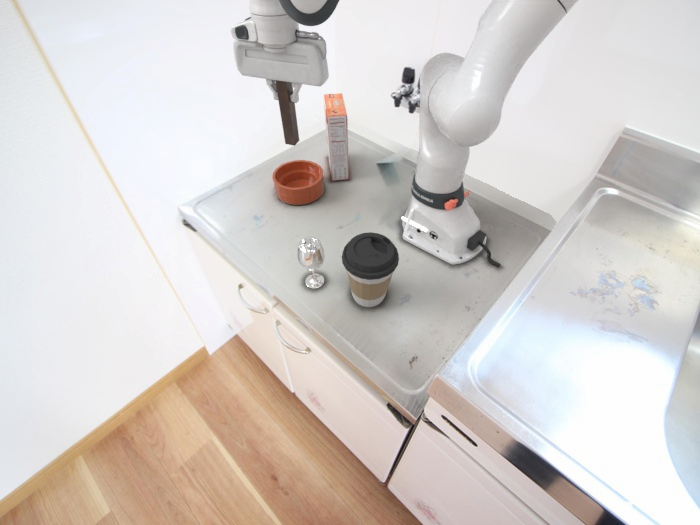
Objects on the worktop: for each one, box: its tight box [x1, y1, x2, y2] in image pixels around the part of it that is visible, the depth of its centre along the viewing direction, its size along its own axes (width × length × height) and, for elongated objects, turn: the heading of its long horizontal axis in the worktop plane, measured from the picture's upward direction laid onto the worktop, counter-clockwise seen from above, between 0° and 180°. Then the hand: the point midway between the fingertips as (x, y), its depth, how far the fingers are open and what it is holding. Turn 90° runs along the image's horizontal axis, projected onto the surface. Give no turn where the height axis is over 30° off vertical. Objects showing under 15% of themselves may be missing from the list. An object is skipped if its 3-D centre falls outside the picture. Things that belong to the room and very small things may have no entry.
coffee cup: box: [341, 232, 400, 308], centre depth 71 cm, size 11×11×15 cm
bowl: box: [271, 159, 325, 206], centre depth 101 cm, size 15×15×6 cm
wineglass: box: [297, 236, 326, 290], centre depth 75 cm, size 6×6×12 cm
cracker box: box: [323, 93, 350, 182], centre depth 103 cm, size 14×6×21 cm, turn 6°
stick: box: [275, 80, 300, 146], centre depth 78 cm, size 3×3×16 cm
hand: (286, 100), depth 77 cm, fingers closed on stick, 2 cm apart
